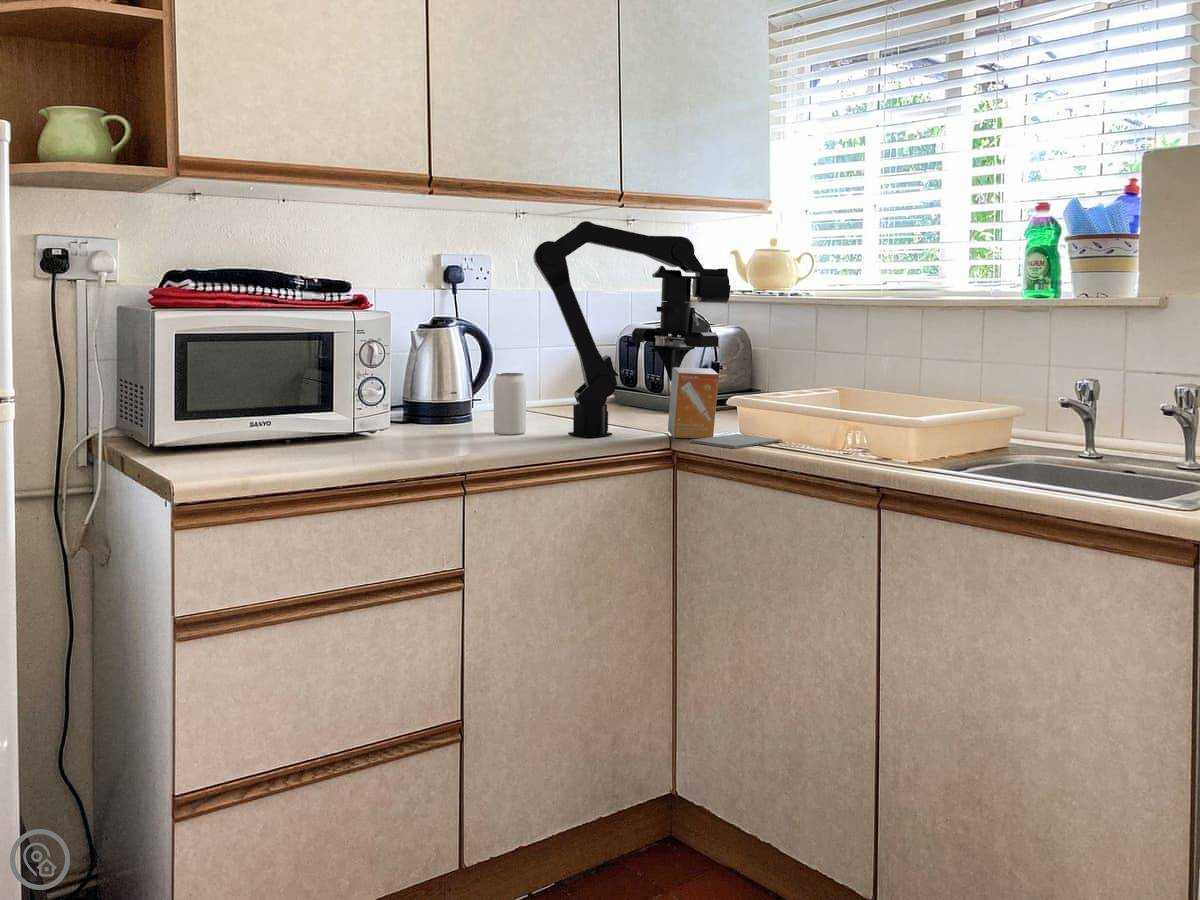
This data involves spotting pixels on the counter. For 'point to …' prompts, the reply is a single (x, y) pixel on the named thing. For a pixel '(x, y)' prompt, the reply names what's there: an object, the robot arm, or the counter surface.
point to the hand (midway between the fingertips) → (672, 381)
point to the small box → (692, 402)
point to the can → (509, 404)
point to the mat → (735, 441)
